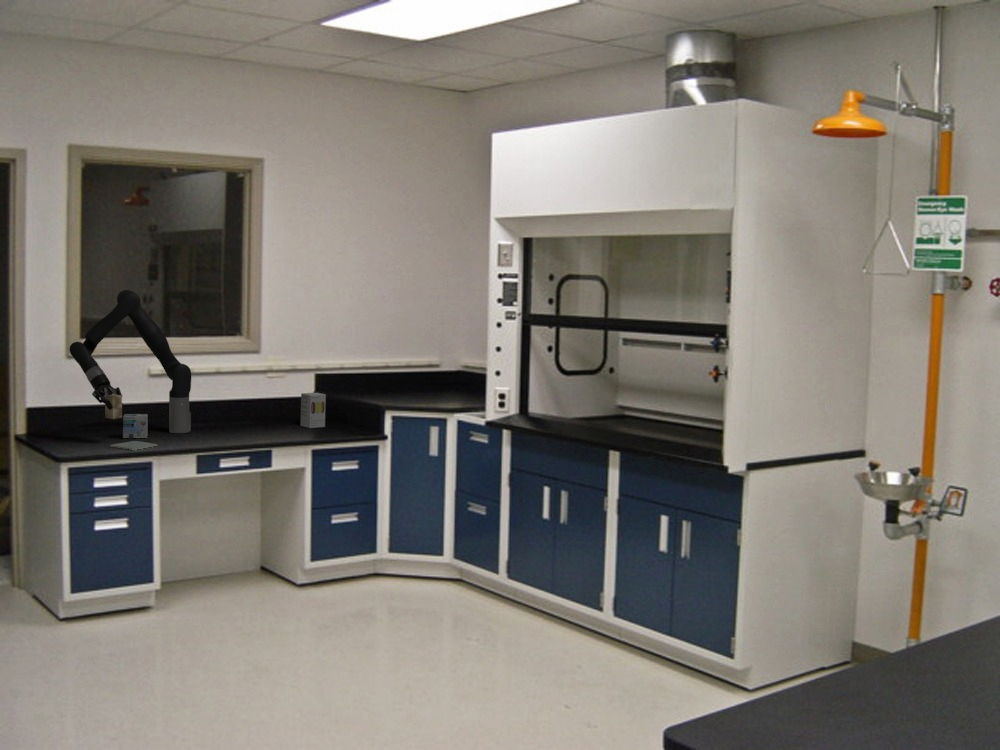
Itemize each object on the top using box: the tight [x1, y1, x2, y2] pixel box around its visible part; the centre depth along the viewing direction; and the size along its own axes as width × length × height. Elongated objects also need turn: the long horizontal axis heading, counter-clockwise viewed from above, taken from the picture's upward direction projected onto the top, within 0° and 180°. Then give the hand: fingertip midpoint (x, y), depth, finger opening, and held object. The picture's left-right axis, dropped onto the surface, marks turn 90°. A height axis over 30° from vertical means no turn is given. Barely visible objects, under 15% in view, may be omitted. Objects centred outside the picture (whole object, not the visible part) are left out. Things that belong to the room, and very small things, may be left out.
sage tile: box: [109, 440, 158, 451], centre depth 478 cm, size 14×14×1 cm
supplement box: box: [300, 392, 327, 429], centre depth 549 cm, size 10×9×17 cm
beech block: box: [104, 394, 123, 420], centre depth 482 cm, size 5×5×10 cm
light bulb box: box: [122, 413, 149, 439], centre depth 499 cm, size 11×7×11 cm, turn 105°
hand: (116, 407), depth 481 cm, fingers closed on beech block, 5 cm apart
